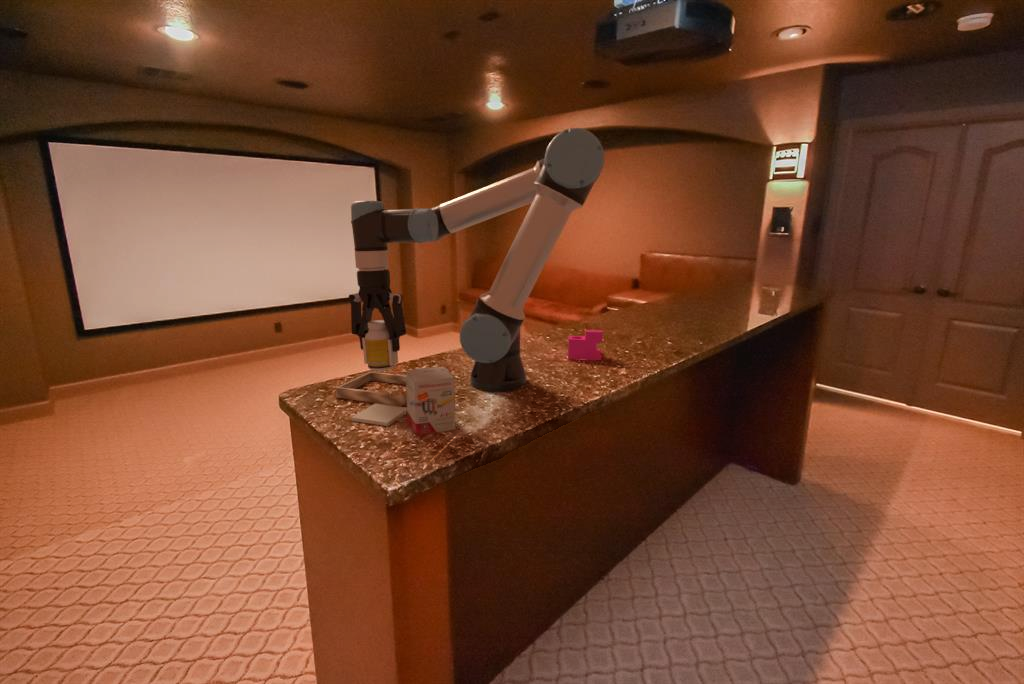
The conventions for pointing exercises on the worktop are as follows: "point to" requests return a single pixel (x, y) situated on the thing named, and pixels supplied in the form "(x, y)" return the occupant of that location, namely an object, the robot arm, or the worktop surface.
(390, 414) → the coaster
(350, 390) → the corral
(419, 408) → the ink box
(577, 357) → the magenta stepped block
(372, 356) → the pill bottle
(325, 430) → the worktop surface
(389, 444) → the worktop surface
